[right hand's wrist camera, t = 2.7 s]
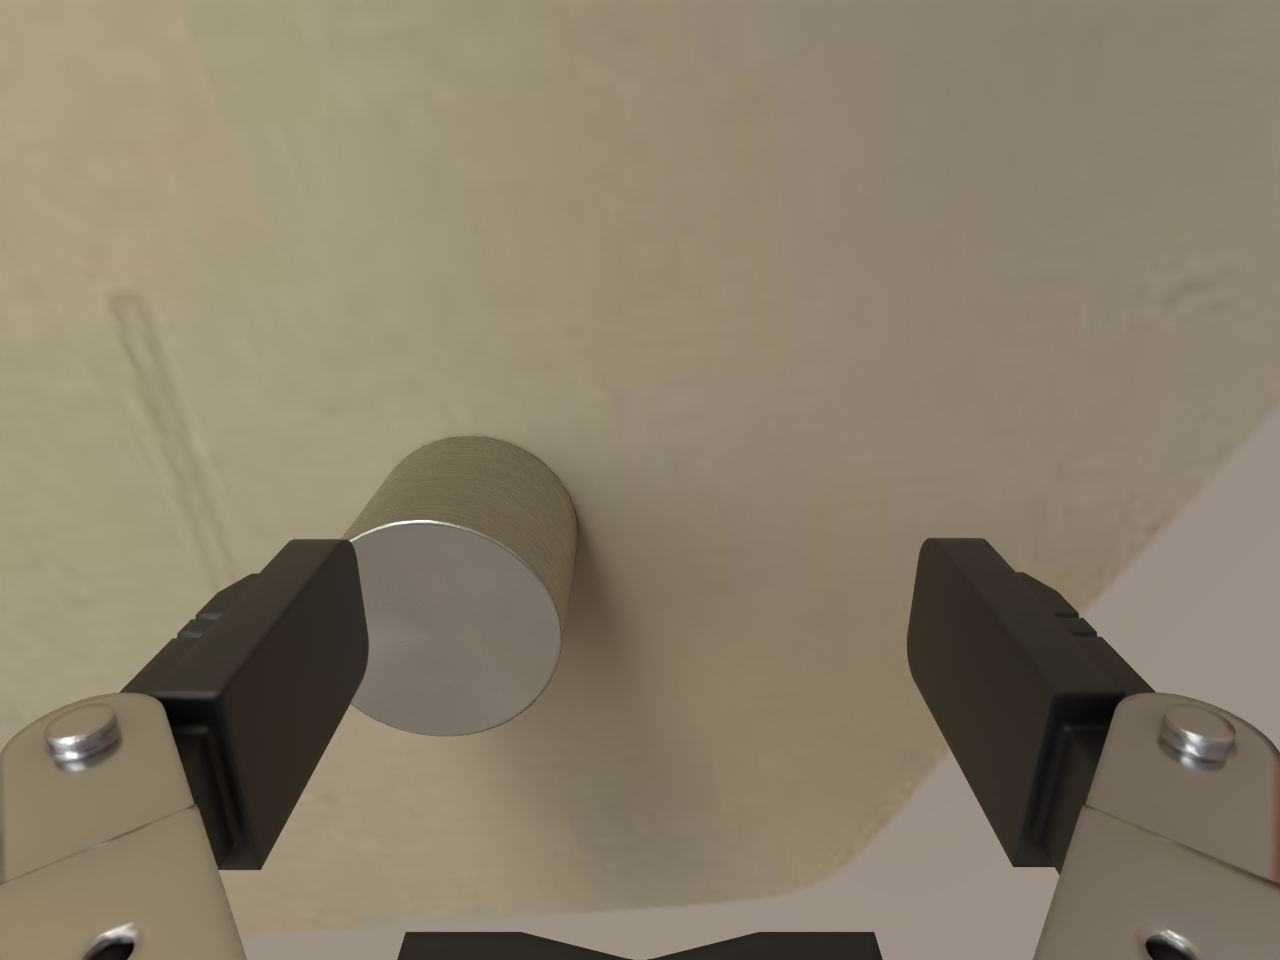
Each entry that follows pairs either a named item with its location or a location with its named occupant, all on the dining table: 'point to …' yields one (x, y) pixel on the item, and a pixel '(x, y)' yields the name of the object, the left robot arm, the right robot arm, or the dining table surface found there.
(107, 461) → the dining table surface
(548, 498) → the tin
